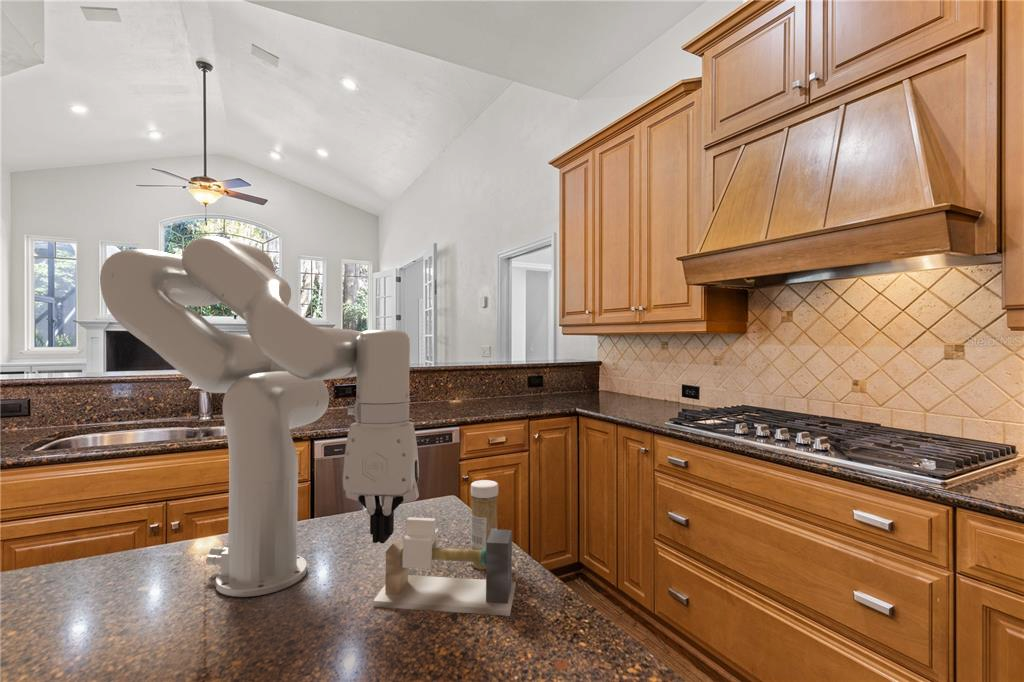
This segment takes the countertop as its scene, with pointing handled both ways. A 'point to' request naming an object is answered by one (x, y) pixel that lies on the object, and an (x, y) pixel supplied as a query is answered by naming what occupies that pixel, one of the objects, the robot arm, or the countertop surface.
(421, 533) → the sleeve
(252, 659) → the countertop surface
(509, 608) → the linear actuator
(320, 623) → the countertop surface
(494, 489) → the sprinkles bottle
